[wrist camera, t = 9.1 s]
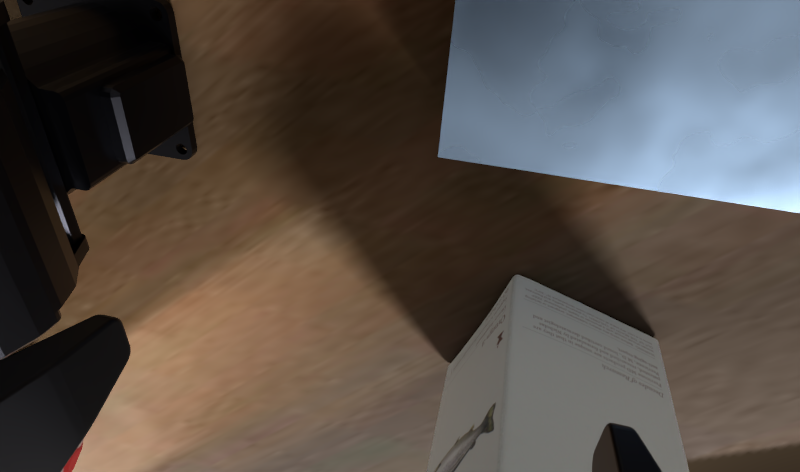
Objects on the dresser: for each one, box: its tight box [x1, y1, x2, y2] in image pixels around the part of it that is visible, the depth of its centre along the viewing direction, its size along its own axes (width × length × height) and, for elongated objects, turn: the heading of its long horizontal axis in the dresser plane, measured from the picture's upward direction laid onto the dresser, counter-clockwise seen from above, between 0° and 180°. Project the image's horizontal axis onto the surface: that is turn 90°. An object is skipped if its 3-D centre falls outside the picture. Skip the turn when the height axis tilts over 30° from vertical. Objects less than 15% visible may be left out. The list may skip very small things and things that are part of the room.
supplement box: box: [427, 275, 689, 472], centre depth 20 cm, size 7×7×13 cm
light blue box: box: [438, 0, 800, 213], centre depth 15 cm, size 16×6×6 cm, turn 87°
